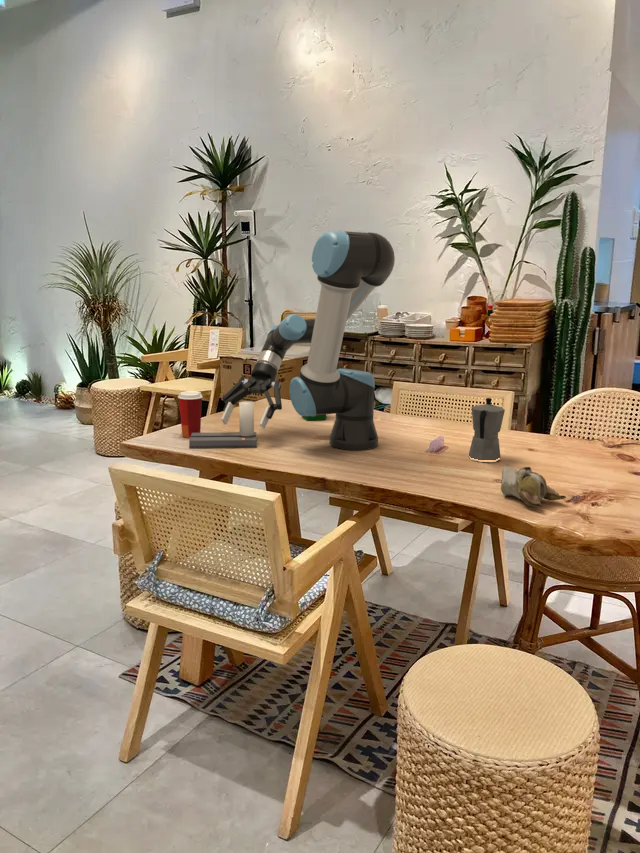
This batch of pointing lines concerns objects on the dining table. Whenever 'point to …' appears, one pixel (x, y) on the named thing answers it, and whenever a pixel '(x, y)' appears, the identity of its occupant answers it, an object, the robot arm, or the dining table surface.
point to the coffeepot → (486, 431)
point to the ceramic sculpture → (527, 486)
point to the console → (222, 440)
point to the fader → (246, 418)
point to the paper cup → (190, 412)
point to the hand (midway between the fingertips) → (242, 424)
